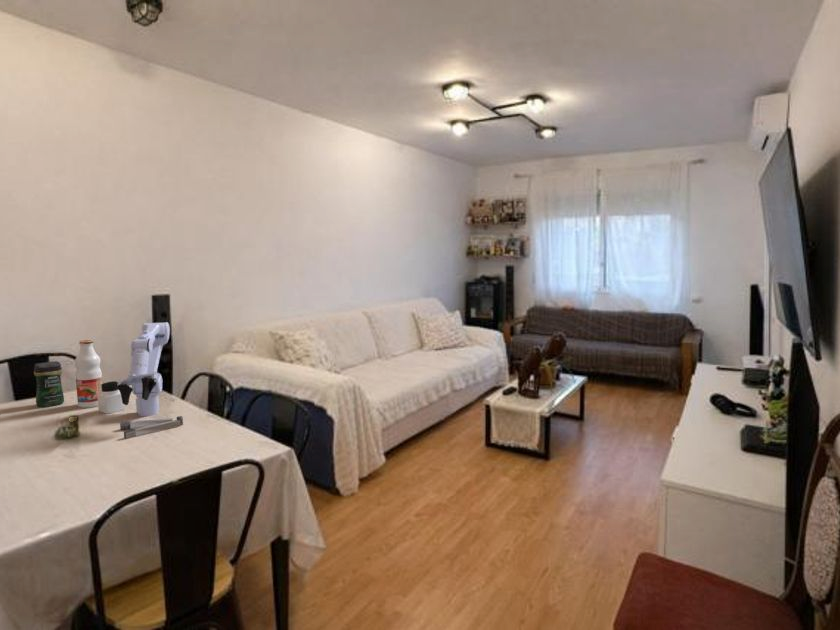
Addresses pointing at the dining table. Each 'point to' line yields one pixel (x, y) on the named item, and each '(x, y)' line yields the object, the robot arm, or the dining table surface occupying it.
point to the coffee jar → (48, 384)
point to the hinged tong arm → (142, 423)
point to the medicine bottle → (110, 398)
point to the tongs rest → (154, 428)
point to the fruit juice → (88, 375)
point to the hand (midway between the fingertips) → (134, 401)
